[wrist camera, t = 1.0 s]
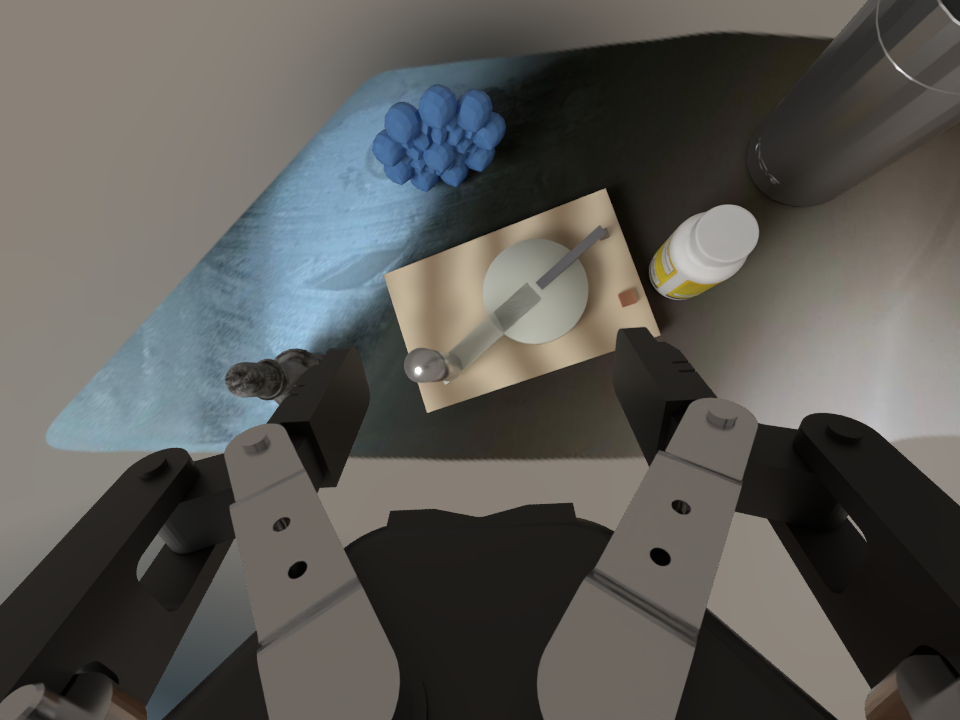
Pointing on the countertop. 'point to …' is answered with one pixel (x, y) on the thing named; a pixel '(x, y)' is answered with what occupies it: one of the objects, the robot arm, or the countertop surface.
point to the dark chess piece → (270, 375)
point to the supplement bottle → (704, 252)
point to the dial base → (460, 309)
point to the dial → (517, 305)
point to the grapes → (439, 138)
